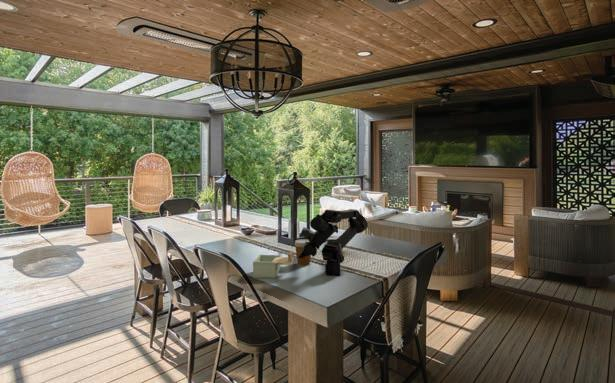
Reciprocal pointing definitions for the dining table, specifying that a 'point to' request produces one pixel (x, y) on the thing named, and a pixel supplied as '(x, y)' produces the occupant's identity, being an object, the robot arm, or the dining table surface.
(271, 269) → the box
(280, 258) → the lid
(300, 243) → the disposable coffee cup
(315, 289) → the dining table surface
